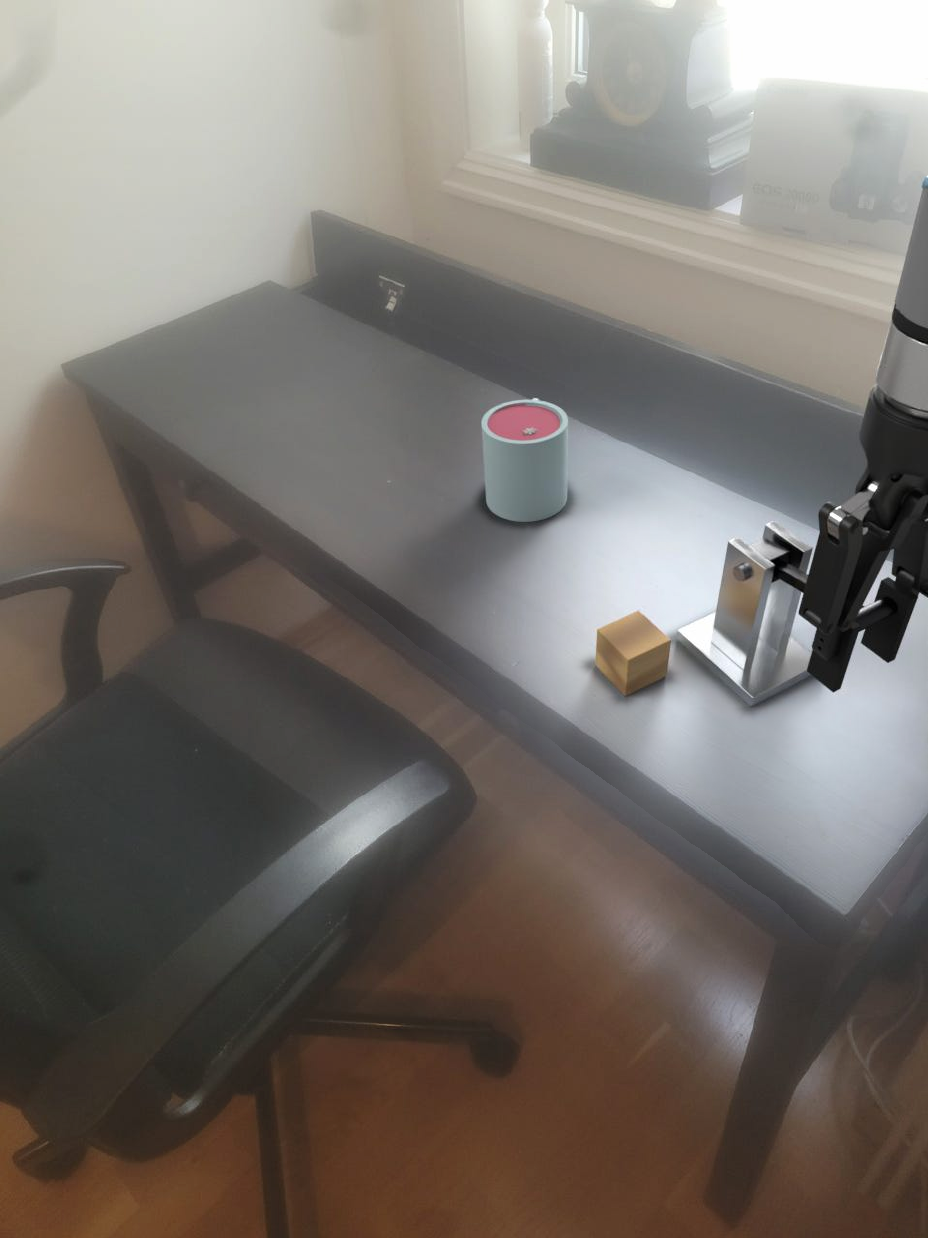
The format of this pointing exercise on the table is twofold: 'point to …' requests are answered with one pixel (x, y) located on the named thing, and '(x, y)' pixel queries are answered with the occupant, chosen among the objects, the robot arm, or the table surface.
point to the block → (632, 652)
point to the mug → (525, 459)
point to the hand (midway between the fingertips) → (850, 664)
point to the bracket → (753, 622)
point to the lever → (799, 579)
